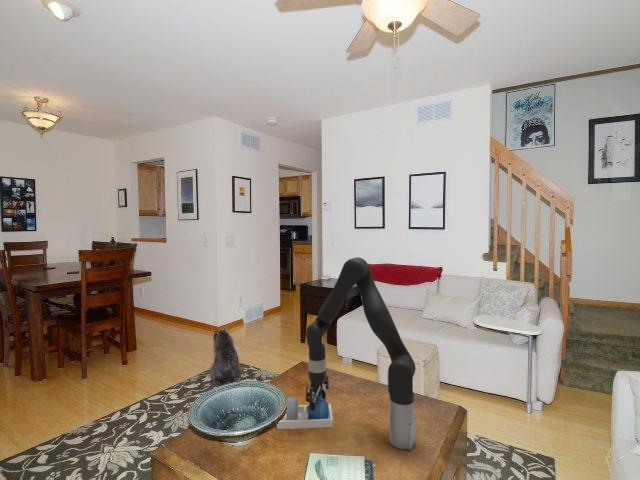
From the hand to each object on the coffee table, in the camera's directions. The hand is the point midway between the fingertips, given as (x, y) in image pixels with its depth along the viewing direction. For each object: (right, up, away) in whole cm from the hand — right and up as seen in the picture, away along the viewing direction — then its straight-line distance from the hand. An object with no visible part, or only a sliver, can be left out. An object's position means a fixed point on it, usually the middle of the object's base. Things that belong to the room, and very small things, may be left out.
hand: (317, 405), depth 146 cm
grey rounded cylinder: (-11, -6, 0) cm, 13 cm away
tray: (-6, -7, 0) cm, 9 cm away
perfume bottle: (0, -6, 0) cm, 6 cm away
